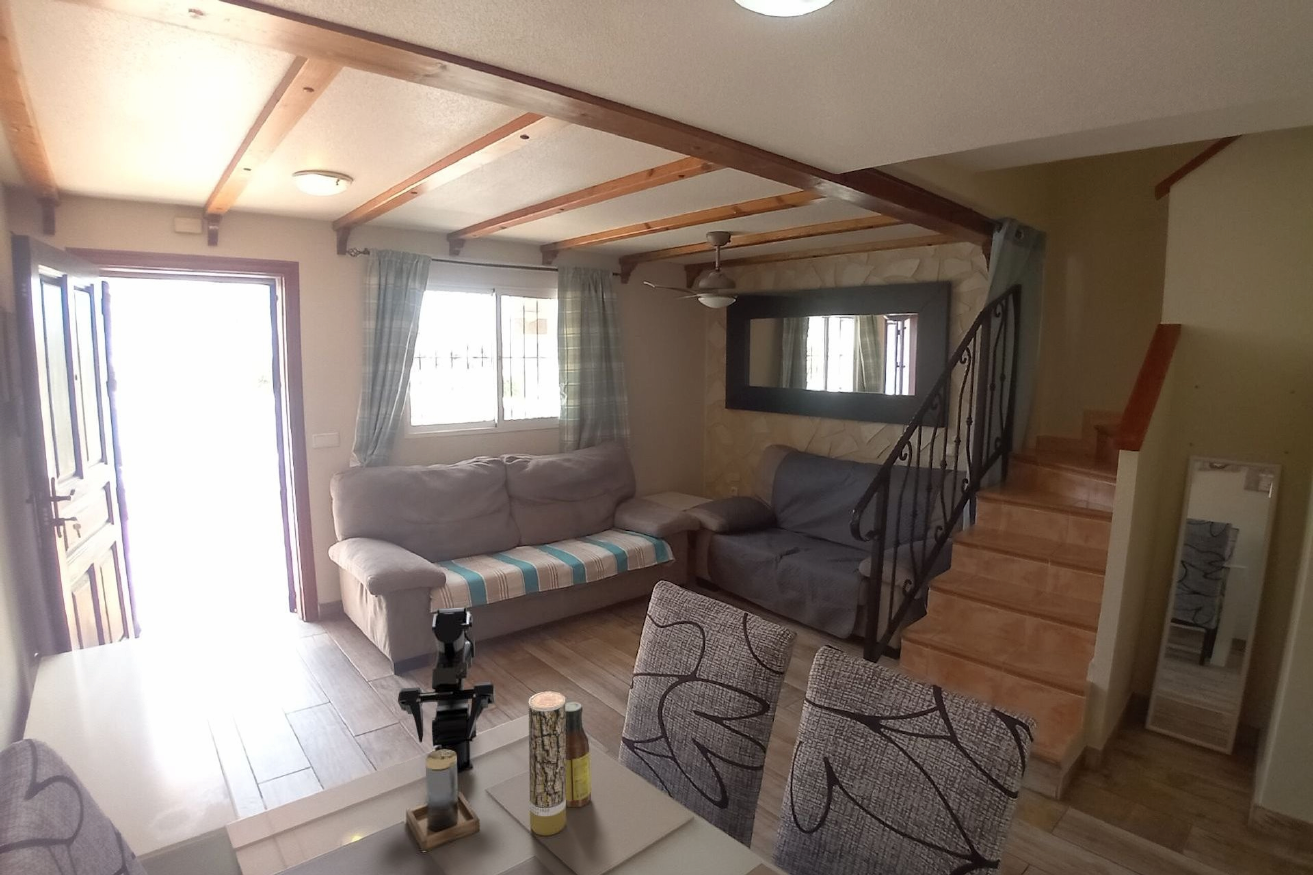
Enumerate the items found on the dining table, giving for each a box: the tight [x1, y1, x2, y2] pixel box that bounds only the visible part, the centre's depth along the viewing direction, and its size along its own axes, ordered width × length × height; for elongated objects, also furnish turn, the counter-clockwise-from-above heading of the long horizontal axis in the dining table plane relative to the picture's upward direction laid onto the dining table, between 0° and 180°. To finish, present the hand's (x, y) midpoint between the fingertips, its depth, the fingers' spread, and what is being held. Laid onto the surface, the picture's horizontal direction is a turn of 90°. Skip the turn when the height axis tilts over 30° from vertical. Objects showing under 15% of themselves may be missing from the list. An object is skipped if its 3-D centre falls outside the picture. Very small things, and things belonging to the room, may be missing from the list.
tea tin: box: [425, 749, 459, 832], centre depth 128 cm, size 6×6×13 cm
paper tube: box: [528, 691, 567, 836], centre depth 127 cm, size 7×7×25 cm
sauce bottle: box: [565, 701, 592, 809], centre depth 135 cm, size 7×6×20 cm
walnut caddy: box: [405, 791, 481, 852], centre depth 128 cm, size 11×11×2 cm
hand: (444, 739), depth 133 cm, fingers open, 9 cm apart
